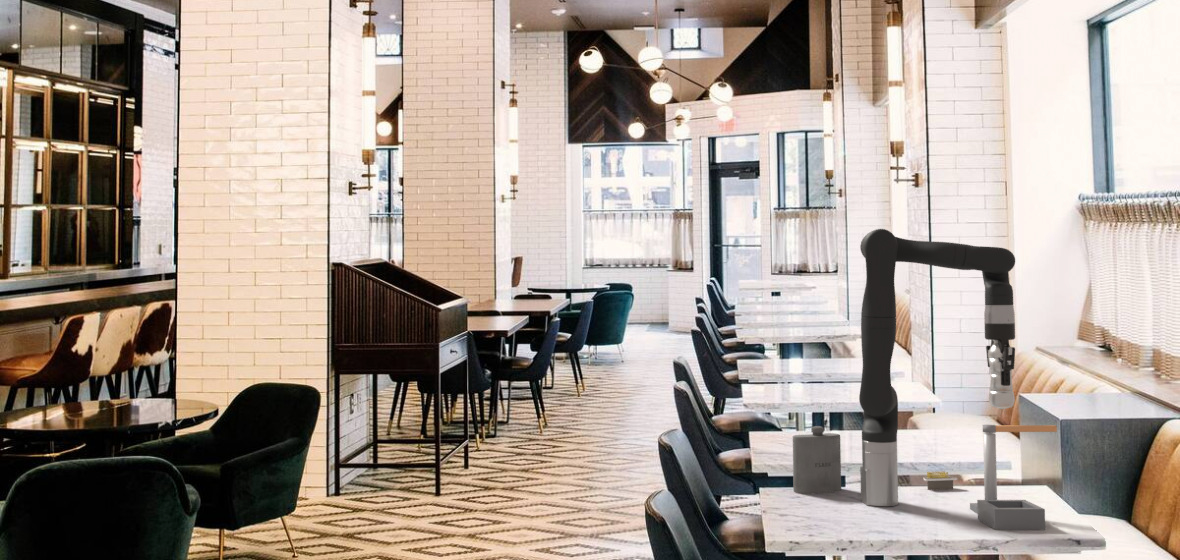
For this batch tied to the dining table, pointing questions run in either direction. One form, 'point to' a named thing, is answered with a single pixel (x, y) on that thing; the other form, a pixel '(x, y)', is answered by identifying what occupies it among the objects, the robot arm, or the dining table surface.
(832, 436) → the flask
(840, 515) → the dining table surface
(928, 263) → the robot arm
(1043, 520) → the plug dock
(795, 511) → the dining table surface
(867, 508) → the dining table surface
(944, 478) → the platform
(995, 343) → the plastic bottle
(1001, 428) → the slender peach stick
